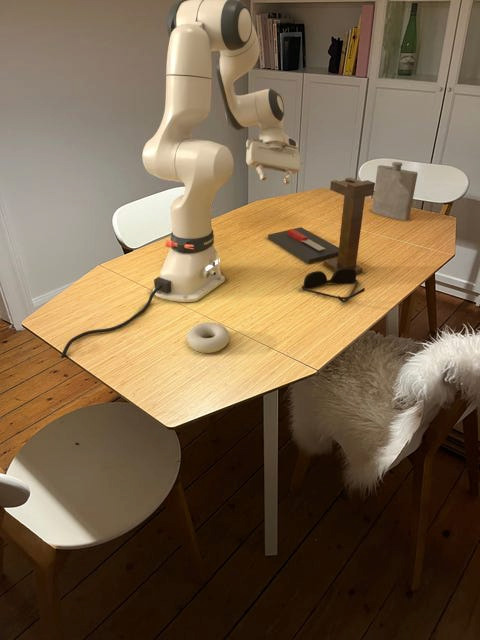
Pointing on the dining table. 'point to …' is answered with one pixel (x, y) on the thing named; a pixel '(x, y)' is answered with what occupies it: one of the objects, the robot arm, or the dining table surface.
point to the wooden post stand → (350, 222)
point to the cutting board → (304, 246)
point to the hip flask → (394, 191)
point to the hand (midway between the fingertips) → (275, 181)
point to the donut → (208, 344)
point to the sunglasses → (332, 281)
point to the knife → (304, 239)
